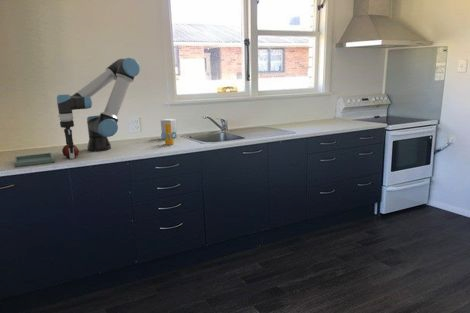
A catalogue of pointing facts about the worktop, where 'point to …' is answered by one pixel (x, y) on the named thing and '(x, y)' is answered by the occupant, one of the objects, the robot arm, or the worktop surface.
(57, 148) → the worktop surface
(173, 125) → the supplement box
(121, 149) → the worktop surface
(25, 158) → the tray
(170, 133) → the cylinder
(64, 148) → the fruit
